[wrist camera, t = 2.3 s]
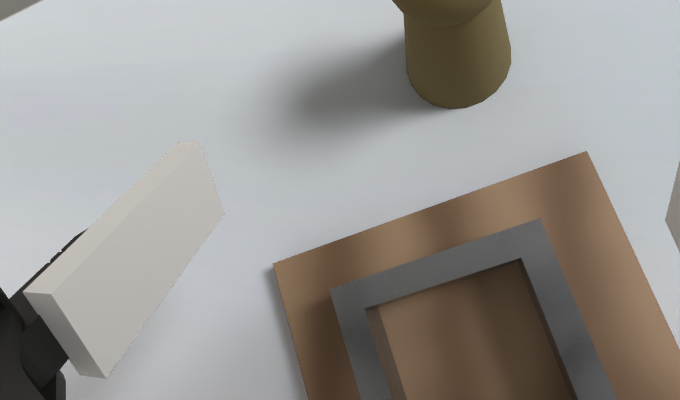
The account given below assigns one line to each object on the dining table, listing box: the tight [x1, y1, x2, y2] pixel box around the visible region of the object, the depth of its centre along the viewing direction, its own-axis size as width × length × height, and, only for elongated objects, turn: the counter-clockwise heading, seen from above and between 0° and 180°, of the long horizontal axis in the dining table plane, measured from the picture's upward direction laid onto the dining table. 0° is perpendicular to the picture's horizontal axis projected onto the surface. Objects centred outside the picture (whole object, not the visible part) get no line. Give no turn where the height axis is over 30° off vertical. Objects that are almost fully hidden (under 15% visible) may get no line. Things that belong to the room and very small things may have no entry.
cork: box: [392, 0, 511, 109], centre depth 24 cm, size 6×6×11 cm
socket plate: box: [273, 151, 680, 400], centre depth 24 cm, size 18×16×4 cm
